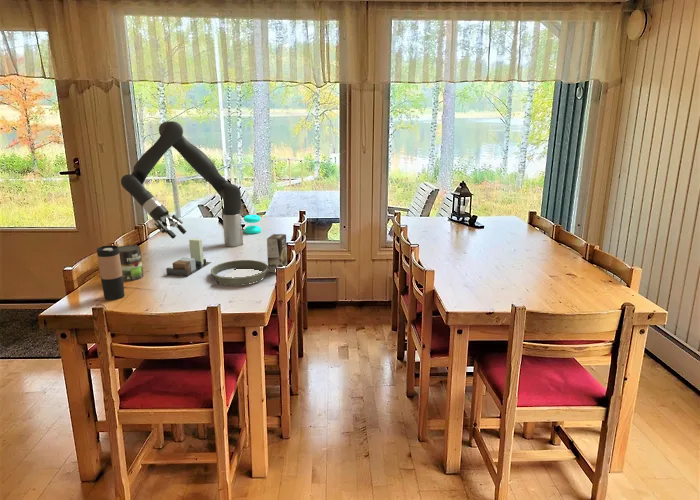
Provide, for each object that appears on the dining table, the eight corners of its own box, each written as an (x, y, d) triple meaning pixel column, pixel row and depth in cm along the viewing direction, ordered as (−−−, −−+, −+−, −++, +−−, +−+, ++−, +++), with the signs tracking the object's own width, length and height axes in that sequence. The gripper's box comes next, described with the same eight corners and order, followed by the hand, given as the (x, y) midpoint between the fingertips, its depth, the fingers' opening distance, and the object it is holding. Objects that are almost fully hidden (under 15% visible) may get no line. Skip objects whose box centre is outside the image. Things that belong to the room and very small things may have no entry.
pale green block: (194, 262, 226) (192, 238, 222) (203, 263, 225) (201, 239, 221) (191, 264, 223) (189, 239, 220) (201, 265, 222) (198, 240, 219)
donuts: (245, 214, 289) (262, 214, 288) (246, 230, 291) (262, 230, 291) (241, 217, 279) (258, 217, 279) (242, 234, 282) (259, 234, 282)
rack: (192, 262, 229) (192, 254, 228) (211, 264, 227) (211, 256, 226) (167, 277, 209) (166, 268, 208) (187, 278, 207) (186, 270, 206)
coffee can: (149, 278, 208) (145, 247, 204) (127, 285, 200) (123, 253, 196) (134, 274, 213) (130, 243, 209) (113, 280, 205) (108, 249, 201)
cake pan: (208, 272, 217) (208, 262, 215) (262, 266, 225) (262, 257, 224) (214, 290, 195) (213, 280, 193) (273, 283, 203) (273, 273, 202)
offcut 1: (178, 271, 214) (177, 260, 213) (190, 272, 213) (189, 261, 212) (173, 273, 211) (172, 263, 209) (185, 275, 209) (184, 264, 208)
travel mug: (108, 293, 191) (101, 245, 185) (128, 293, 191) (121, 245, 186) (100, 300, 183) (92, 251, 178) (121, 300, 184) (114, 250, 178)
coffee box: (281, 273, 214) (279, 239, 210) (267, 272, 216) (266, 238, 211) (287, 267, 223) (286, 234, 218) (274, 266, 224) (273, 233, 220)
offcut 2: (184, 267, 219) (183, 257, 217) (196, 268, 217) (195, 258, 216) (179, 270, 215) (178, 260, 213) (191, 271, 213) (190, 261, 212)
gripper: (150, 207, 213) (175, 233, 214) (169, 201, 227) (192, 226, 227) (141, 218, 216) (166, 244, 217) (160, 211, 229) (184, 236, 230)
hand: (180, 235), depth 222 cm, fingers open, 8 cm apart
